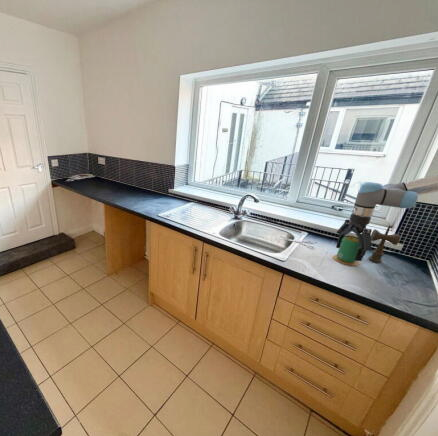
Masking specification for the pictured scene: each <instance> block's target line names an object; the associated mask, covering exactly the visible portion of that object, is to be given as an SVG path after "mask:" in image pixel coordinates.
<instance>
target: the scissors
mask: <svg viewBox="0 0 438 436" xmlns="http://www.w3.org/2000/svg"><path fill="white" fill-rule="evenodd" d="M279 237H281V238H282V240H283V241H286V240H287V241H289V242H294V243H297V242H298V243H297V244H300V245H303V246H304V247H306V248H307V249H310V250H315V246H313V245H314V244H317V243H318V241H313V240H295V239H291V238H288V237H284V236H281V235H280V236H279ZM305 243H307V244H305ZM308 244H310V245H308Z"/></svg>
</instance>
